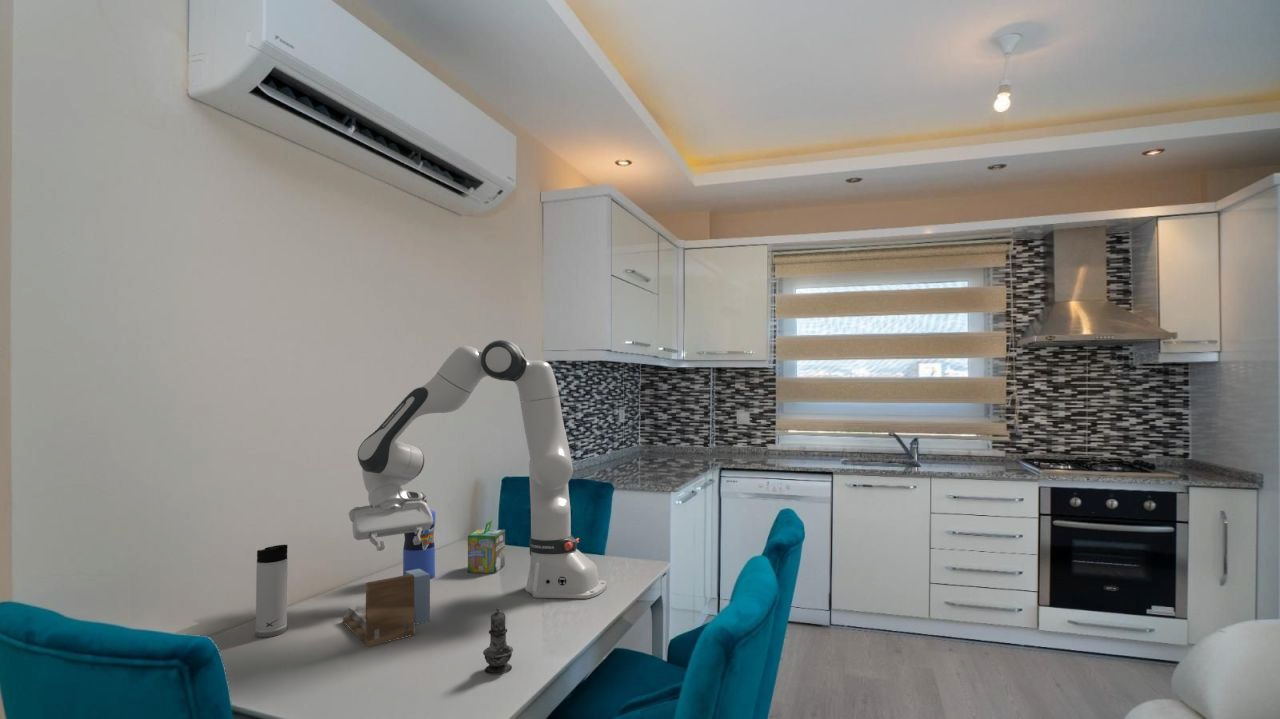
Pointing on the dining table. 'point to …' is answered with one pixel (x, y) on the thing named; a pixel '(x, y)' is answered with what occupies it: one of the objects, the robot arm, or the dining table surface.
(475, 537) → the chalk box
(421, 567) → the water bottle
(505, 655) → the salt shaker
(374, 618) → the brown wooden holder
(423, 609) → the pale blue rectangular block
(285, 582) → the travel mug
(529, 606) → the dining table surface
